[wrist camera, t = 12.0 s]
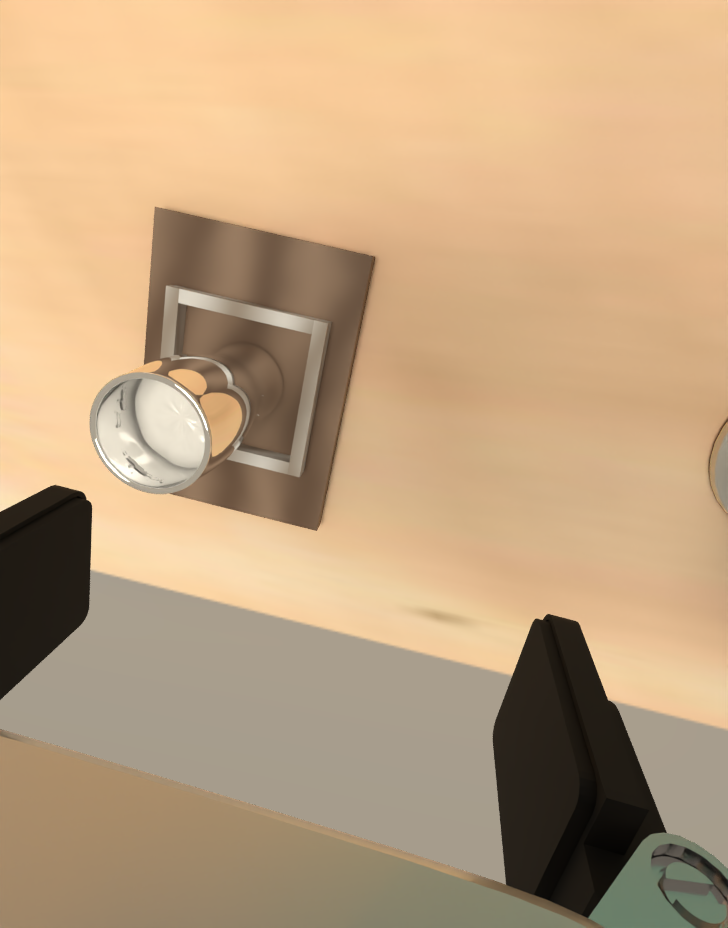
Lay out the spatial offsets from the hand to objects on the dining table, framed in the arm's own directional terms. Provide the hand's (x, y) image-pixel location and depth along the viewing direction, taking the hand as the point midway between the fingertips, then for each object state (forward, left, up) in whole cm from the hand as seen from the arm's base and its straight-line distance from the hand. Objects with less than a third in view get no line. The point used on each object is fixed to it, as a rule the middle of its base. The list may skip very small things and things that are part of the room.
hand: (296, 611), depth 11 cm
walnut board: (+11, +4, -32) cm, 35 cm away
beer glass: (+11, +4, -31) cm, 33 cm away
